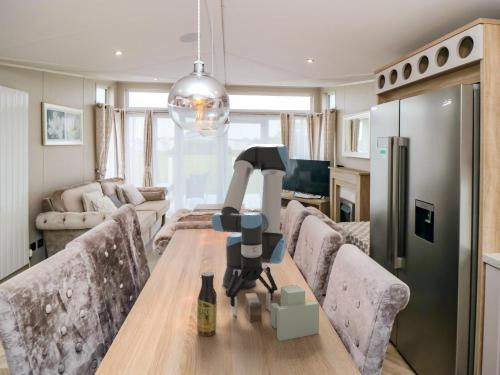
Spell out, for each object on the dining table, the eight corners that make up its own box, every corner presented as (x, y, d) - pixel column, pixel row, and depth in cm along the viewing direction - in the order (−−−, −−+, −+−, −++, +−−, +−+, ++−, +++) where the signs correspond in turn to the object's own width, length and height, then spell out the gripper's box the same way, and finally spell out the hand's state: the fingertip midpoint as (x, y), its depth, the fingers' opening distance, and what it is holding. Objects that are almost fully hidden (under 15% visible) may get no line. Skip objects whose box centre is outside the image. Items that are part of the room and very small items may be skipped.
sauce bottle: (193, 333, 115) (192, 273, 114) (206, 326, 120) (206, 269, 119) (207, 339, 111) (206, 278, 110) (221, 331, 116) (220, 272, 115)
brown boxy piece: (245, 308, 134) (245, 292, 134) (255, 308, 135) (255, 291, 134) (250, 323, 123) (250, 305, 122) (261, 322, 123) (261, 304, 123)
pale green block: (265, 324, 121) (265, 284, 120) (301, 317, 126) (301, 279, 125) (279, 340, 110) (279, 297, 109) (318, 333, 115) (319, 291, 114)
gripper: (221, 261, 122) (222, 321, 123) (286, 254, 130) (286, 310, 131) (216, 255, 129) (217, 312, 130) (278, 249, 137) (278, 303, 138)
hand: (251, 311), depth 131 cm, fingers open, 12 cm apart
